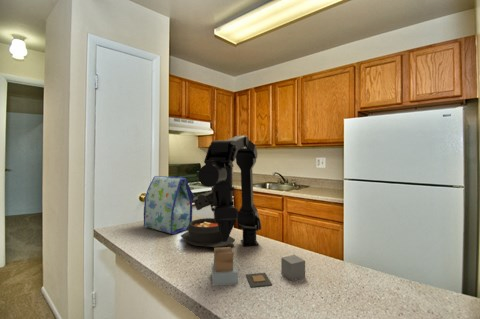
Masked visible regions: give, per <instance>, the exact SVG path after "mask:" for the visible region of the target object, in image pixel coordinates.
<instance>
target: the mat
mask: <svg viewBox="0 0 480 319" xmlns="http://www.w3.org/2000/svg"><path fill="white" fill-rule="evenodd" d="M245 276H246V279H247V281H248V283H249V286H250V288H258V287H259V288H260V287H269V286H270V287H271V286H273V283H272V281H271V280H270V279H269V277H268V275H267V273H266V272H258V273H246V274H245Z"/></svg>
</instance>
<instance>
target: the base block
mask: <svg viewBox="0 0 480 319" xmlns="http://www.w3.org/2000/svg"><path fill="white" fill-rule="evenodd" d="M211 279H212V286H224V285H225V286H226V285H234V284H239V272H238V268H237V266H236V263H235V261H233V271H222V272H215V267H214V262H213V263H211Z"/></svg>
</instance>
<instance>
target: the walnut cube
mask: <svg viewBox="0 0 480 319" xmlns="http://www.w3.org/2000/svg"><path fill="white" fill-rule="evenodd" d="M213 252H214V253H213V263H214V267H215V272H222V271H233V262H234V251H233V249H232V247H231V246H227V247H226V246H223V247H213Z"/></svg>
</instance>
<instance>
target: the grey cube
mask: <svg viewBox="0 0 480 319" xmlns="http://www.w3.org/2000/svg"><path fill="white" fill-rule="evenodd" d="M280 259H281V260H280V262H281V266H280V267H281V268H280V269H281V271H280V272H281V275H283V276H284V277H285V278H287V279H288V280H290V282H293V281H297V280H301V279H304V278H306V260H305V259H303V258H301V257H299V256H298V255H296V254H292V255H291V254H290V255H288V256H282V257H281V258H280Z"/></svg>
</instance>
